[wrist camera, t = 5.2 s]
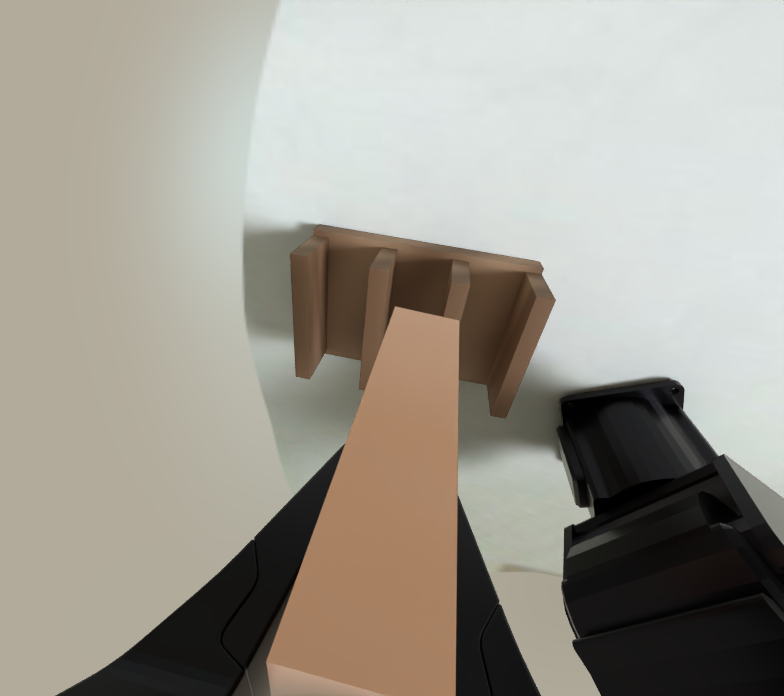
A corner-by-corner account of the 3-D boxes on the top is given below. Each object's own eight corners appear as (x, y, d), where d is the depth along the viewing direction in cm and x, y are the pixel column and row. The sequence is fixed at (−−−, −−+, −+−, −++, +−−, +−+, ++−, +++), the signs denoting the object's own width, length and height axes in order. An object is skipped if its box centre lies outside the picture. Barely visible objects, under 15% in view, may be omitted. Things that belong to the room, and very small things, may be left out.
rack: (539, 261, 18) (558, 293, 14) (496, 377, 22) (503, 422, 19) (320, 224, 18) (290, 246, 15) (319, 342, 23) (296, 380, 19)
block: (459, 320, 11) (455, 714, 4) (419, 449, 14) (376, 783, 7) (395, 306, 11) (265, 661, 4) (371, 437, 14) (279, 755, 7)
